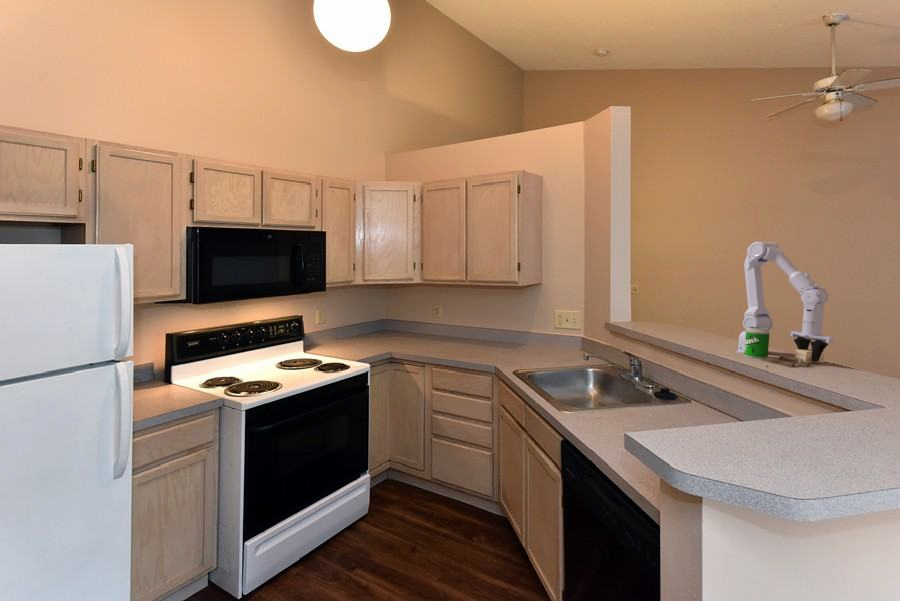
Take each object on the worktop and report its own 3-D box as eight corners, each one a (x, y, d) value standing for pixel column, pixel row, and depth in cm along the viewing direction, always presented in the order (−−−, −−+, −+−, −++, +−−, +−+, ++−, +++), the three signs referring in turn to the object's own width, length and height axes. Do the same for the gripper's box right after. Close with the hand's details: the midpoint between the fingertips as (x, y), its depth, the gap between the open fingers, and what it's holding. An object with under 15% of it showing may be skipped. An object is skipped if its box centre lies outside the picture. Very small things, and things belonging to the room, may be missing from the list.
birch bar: (805, 363, 174) (806, 351, 173) (794, 360, 177) (795, 349, 177) (823, 362, 176) (824, 351, 175) (812, 359, 179) (813, 349, 179)
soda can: (760, 358, 188) (763, 326, 187) (771, 362, 180) (774, 329, 179) (740, 357, 188) (742, 326, 187) (750, 361, 181) (752, 329, 180)
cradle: (760, 362, 179) (761, 353, 178) (804, 361, 184) (805, 351, 183) (790, 370, 167) (791, 360, 167) (836, 368, 172) (837, 358, 172)
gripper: (785, 319, 181) (782, 356, 182) (823, 325, 167) (819, 364, 168) (800, 319, 183) (797, 355, 184) (839, 324, 169) (836, 363, 170)
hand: (809, 359), depth 176 cm, fingers closed on birch bar, 4 cm apart
